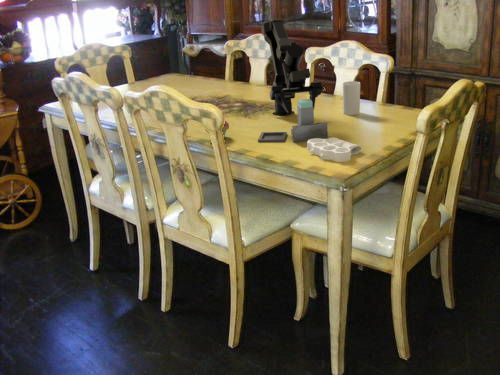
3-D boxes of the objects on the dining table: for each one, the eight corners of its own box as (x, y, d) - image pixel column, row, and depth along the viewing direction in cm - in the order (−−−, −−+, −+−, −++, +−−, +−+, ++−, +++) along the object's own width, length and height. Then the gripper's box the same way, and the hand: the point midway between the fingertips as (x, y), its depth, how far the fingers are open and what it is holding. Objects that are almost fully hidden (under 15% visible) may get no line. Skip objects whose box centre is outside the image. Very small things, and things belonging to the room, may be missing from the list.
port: (286, 135, 214) (285, 119, 212) (319, 131, 216) (318, 115, 214) (293, 143, 205) (293, 126, 202) (327, 140, 206) (327, 123, 204)
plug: (298, 136, 213) (297, 100, 208) (310, 134, 213) (309, 98, 209) (301, 139, 209) (300, 102, 204) (314, 138, 209) (313, 101, 205)
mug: (363, 114, 234) (363, 83, 230) (347, 116, 232) (347, 85, 228) (351, 108, 243) (351, 79, 239) (336, 110, 241) (336, 81, 237)
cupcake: (206, 136, 219) (203, 104, 215) (229, 134, 220) (226, 102, 215) (206, 143, 211) (203, 109, 207) (230, 141, 212) (228, 108, 207)
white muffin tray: (368, 155, 190) (332, 166, 183) (331, 143, 204) (297, 152, 197) (368, 145, 189) (332, 156, 182) (331, 133, 203) (296, 142, 196)
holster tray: (261, 135, 216) (261, 132, 216) (286, 135, 215) (286, 131, 214) (258, 143, 208) (258, 139, 207) (284, 142, 206) (283, 139, 206)
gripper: (270, 63, 211) (278, 102, 205) (321, 58, 213) (331, 96, 208) (266, 80, 221) (274, 118, 215) (315, 76, 224) (324, 112, 218)
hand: (301, 111), depth 214 cm, fingers open, 9 cm apart
